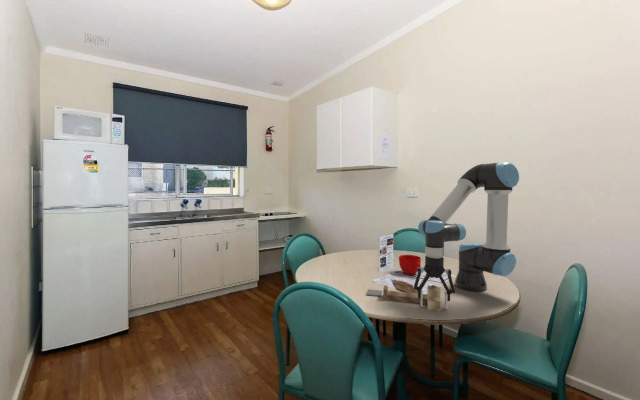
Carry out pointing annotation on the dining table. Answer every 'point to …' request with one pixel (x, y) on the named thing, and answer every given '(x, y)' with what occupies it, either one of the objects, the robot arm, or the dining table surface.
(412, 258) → the ceramic cup
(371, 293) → the mat
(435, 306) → the cream tall block
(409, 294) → the plank
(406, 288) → the wooden fragment
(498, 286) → the dining table surface
